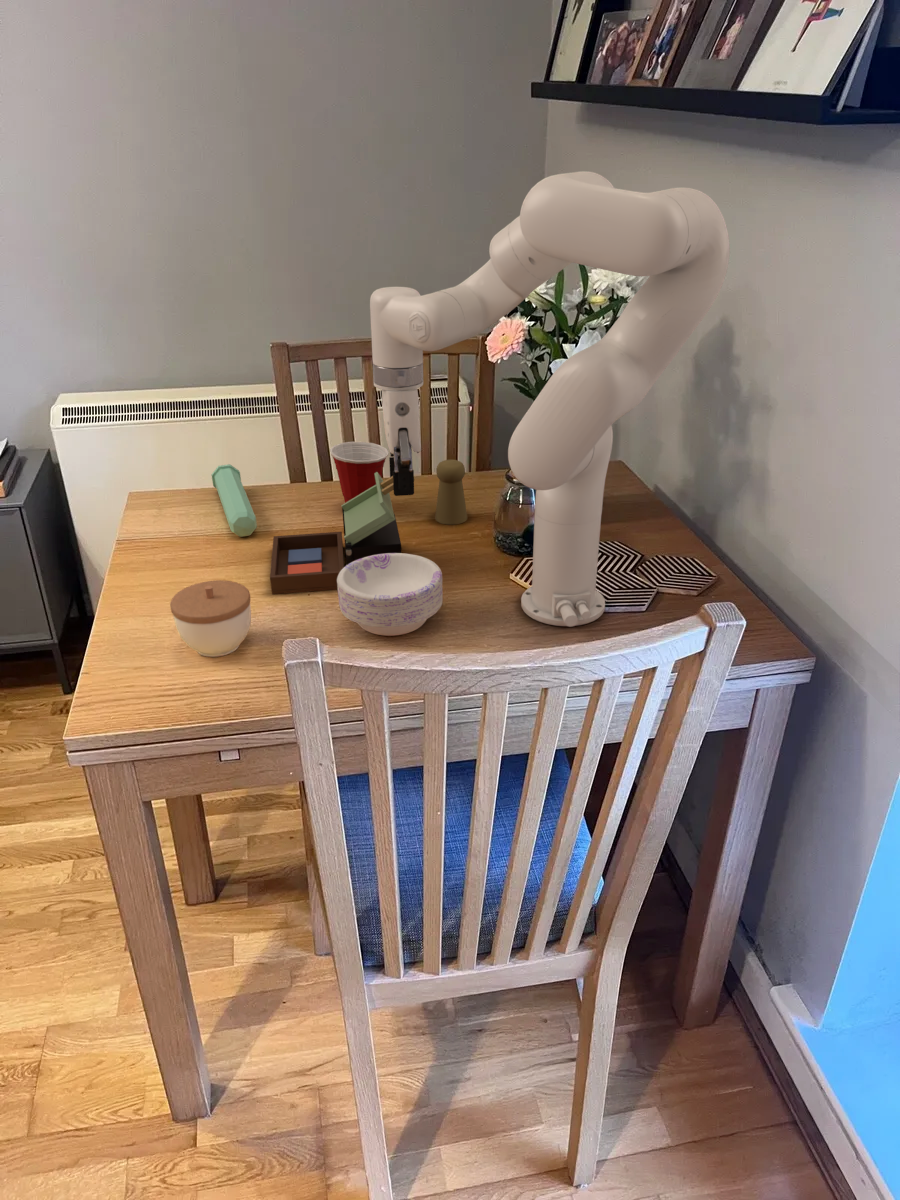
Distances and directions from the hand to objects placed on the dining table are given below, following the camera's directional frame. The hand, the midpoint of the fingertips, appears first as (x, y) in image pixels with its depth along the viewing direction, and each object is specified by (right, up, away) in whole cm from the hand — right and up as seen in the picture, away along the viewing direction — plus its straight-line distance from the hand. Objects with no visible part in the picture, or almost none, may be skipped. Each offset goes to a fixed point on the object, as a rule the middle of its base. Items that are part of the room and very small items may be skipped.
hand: (401, 486), depth 139 cm
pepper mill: (+8, -3, +23) cm, 24 cm away
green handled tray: (-3, -3, +1) cm, 5 cm away
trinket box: (-25, -25, -16) cm, 39 cm away
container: (-33, -2, +26) cm, 42 cm away
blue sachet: (-17, -11, +7) cm, 21 cm away
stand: (-5, -12, +6) cm, 15 cm away
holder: (-16, -13, +5) cm, 21 cm away
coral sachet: (-16, -13, +1) cm, 21 cm away
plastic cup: (-9, -1, +27) cm, 28 cm away
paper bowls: (-1, -21, -10) cm, 24 cm away
